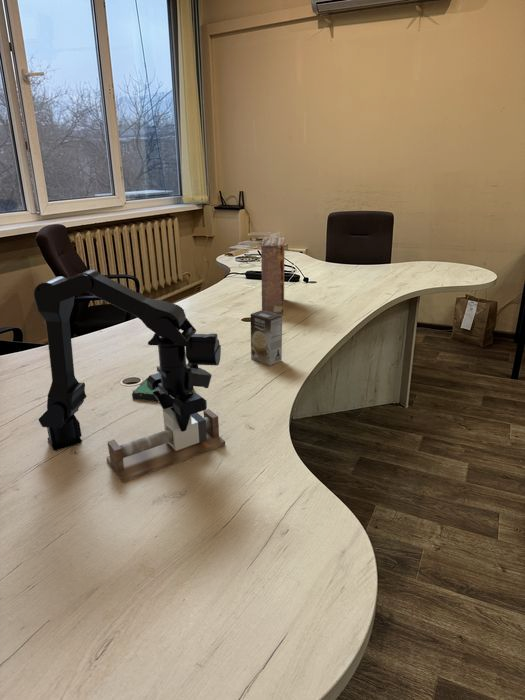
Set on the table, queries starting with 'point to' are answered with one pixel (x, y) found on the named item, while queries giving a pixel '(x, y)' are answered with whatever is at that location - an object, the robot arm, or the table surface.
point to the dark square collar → (200, 426)
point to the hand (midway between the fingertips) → (177, 425)
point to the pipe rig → (159, 451)
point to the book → (273, 274)
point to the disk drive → (146, 392)
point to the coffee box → (266, 337)
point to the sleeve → (181, 437)
